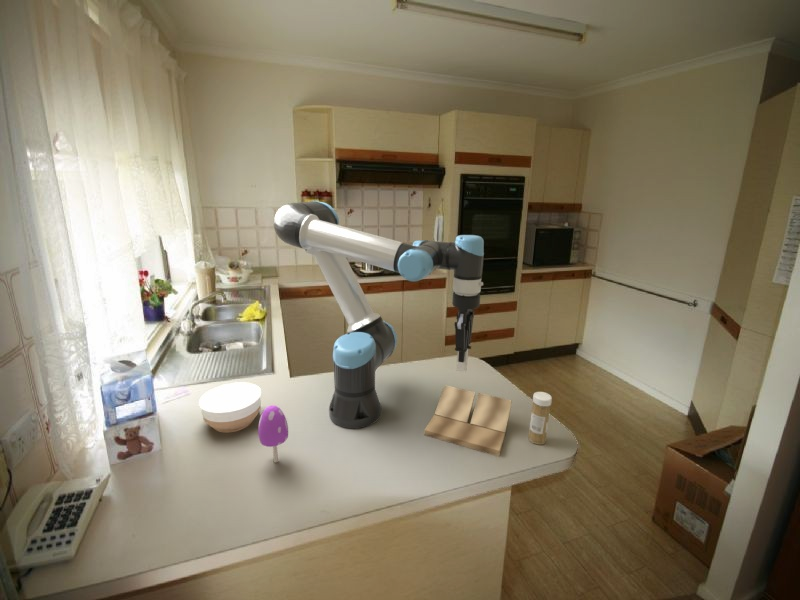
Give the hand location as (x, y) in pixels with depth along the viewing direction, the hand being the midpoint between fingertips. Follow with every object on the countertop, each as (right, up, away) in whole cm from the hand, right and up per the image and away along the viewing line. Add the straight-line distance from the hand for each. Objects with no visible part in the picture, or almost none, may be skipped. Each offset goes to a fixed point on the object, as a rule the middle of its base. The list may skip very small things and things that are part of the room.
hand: (461, 370), depth 113 cm
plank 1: (-2, -10, +1) cm, 10 cm away
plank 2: (+8, -12, -3) cm, 15 cm away
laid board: (-1, -16, -9) cm, 18 cm away
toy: (-48, -19, -19) cm, 55 cm away
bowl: (-65, -14, -4) cm, 67 cm away
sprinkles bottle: (+19, -17, -9) cm, 27 cm away
